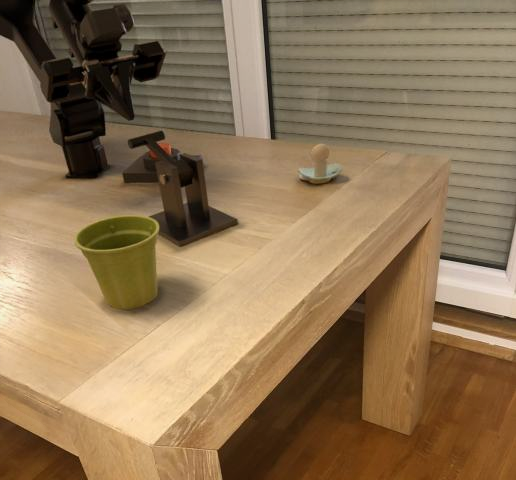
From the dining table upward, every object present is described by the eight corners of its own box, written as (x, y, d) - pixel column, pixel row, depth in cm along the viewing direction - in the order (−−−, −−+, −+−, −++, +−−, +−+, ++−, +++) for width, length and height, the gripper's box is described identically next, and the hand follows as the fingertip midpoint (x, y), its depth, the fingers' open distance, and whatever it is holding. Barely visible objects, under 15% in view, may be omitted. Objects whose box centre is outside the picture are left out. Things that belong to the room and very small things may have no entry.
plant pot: (99, 282, 72) (81, 218, 67) (173, 274, 72) (161, 210, 67) (87, 323, 64) (66, 255, 59) (170, 314, 64) (156, 245, 59)
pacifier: (293, 177, 97) (302, 188, 92) (291, 140, 93) (300, 149, 88) (334, 171, 98) (345, 182, 93) (334, 133, 94) (345, 142, 89)
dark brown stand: (141, 226, 85) (127, 161, 79) (197, 206, 89) (187, 143, 84) (180, 249, 78) (167, 180, 72) (238, 226, 82) (231, 159, 76)
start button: (148, 159, 99) (146, 149, 98) (155, 152, 102) (153, 142, 101) (167, 159, 98) (166, 149, 97) (174, 152, 101) (172, 142, 100)
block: (124, 185, 100) (119, 162, 97) (142, 167, 107) (138, 146, 105) (189, 185, 97) (185, 162, 95) (203, 167, 104) (200, 145, 102)
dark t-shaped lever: (127, 149, 82) (127, 134, 81) (160, 139, 85) (160, 125, 83) (169, 191, 78) (169, 177, 76) (202, 180, 80) (203, 166, 79)
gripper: (20, -7, 73) (78, 95, 72) (147, -23, 82) (200, 68, 81) (20, 56, 83) (70, 146, 82) (133, 35, 91) (180, 117, 91)
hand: (132, 118), depth 83 cm, fingers closed
